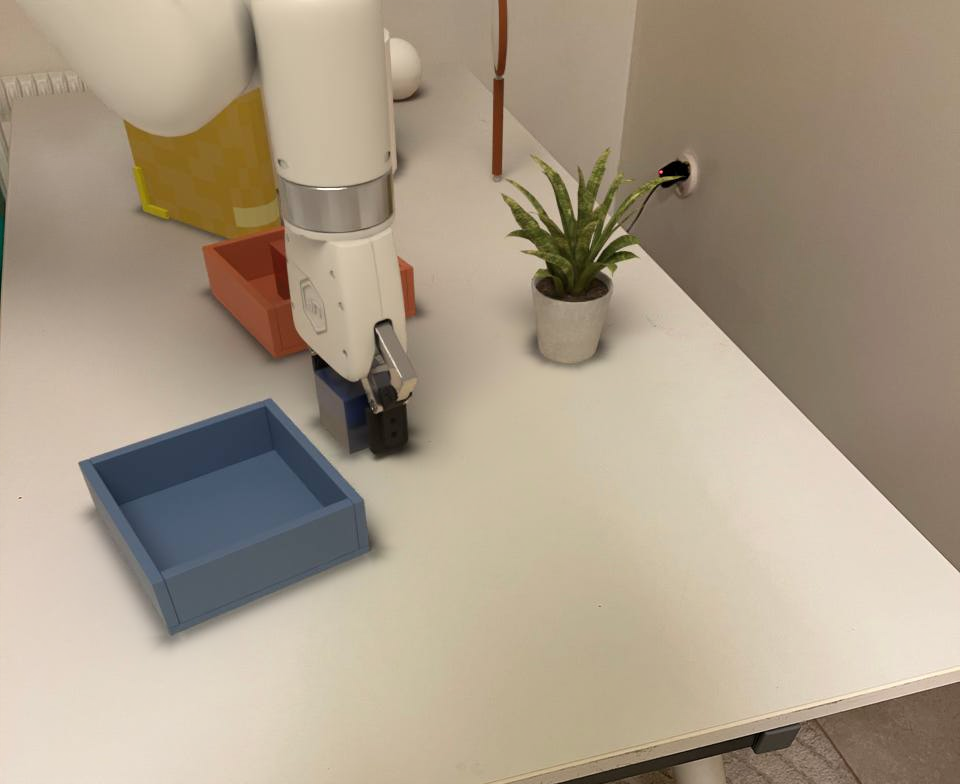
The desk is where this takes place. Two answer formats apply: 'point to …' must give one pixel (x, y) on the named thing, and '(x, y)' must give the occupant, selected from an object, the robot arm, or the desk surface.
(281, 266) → the red block
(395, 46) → the white egg
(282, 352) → the red bin
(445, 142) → the desk surface
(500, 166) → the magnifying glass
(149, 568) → the blue bin
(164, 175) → the book
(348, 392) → the blue block
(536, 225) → the house plant
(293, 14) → the robot arm
